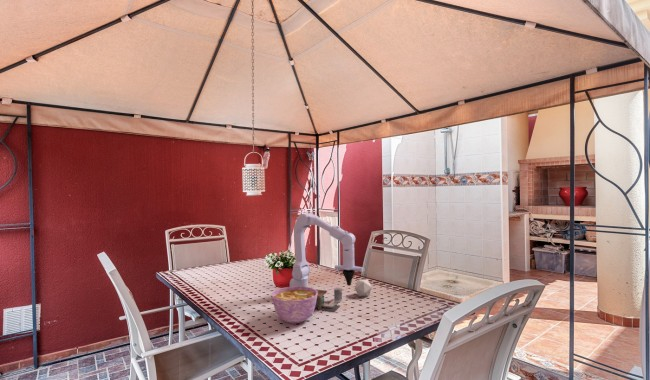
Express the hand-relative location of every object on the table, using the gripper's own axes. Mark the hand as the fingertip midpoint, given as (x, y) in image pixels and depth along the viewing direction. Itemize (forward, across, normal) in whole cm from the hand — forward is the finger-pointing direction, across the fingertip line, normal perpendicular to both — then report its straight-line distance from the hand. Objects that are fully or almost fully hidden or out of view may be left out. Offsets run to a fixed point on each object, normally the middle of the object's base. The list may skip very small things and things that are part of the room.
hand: (349, 285), depth 160 cm
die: (+9, +4, +12) cm, 15 cm away
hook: (+8, -9, -6) cm, 14 cm away
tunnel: (+8, -12, -11) cm, 18 cm away
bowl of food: (+9, -15, -29) cm, 34 cm away
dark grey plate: (+8, -5, -11) cm, 15 cm away
